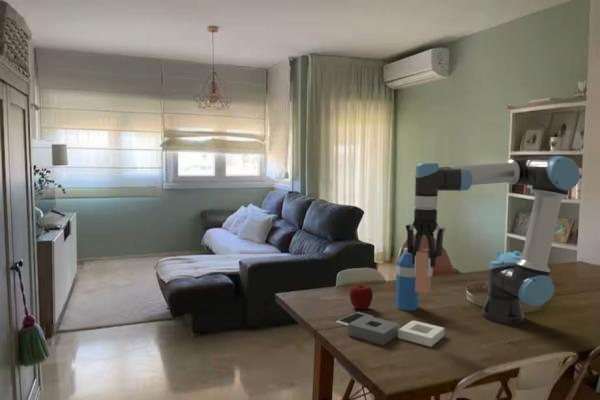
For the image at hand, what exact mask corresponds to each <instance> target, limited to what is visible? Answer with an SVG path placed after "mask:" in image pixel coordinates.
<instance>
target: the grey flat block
mask: <svg viewBox="0 0 600 400" xmlns="http://www.w3.org/2000/svg"><path fill="white" fill-rule="evenodd" d="M400 326H401V325H400V323H399V322H394V321H390V320H387V319H382V318H378V317H375V316H373V317H371V316H367V315H364V316H362V317H360V318H358V319H357V320H355V321H353V322H351V323H349V324H348V326H347V336H350V337H353V338H357V339H361V340H363V341H368V342H371V343H374V344H378V345H381V346H384V345H385V344H388V343H389V342H391V341H392V340H394V339H395V338H397V337H398V329H400Z"/></svg>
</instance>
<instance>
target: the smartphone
mask: <svg viewBox="0 0 600 400" xmlns="http://www.w3.org/2000/svg"><path fill="white" fill-rule="evenodd" d="M364 315H367V316H371V317H374V315H373V314H372V315H371V314H368V313H365V312H361V311H357V312H355V313H353V314H350V315H347V316H345V317H343V318H341V319H338V320H336V321H335V323H336V324H338V325H343V326H346V327H348V324H349V323H351V322H353V321H355V320H357V319H358V318H360V317H362V316H364Z"/></svg>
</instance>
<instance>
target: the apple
mask: <svg viewBox="0 0 600 400" xmlns="http://www.w3.org/2000/svg"><path fill="white" fill-rule="evenodd" d="M373 294H374V293H373V289H372V288H371V286H369V285H368V284H361V283H360V284H354V285H353V286H352V287H350V291H349V300H350V303H351V305H352V306H353V308H355V309H358V310H362V311H363V310H367V309H369V307H370V306H371V303H372V301H373Z"/></svg>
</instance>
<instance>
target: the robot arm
mask: <svg viewBox="0 0 600 400" xmlns="http://www.w3.org/2000/svg"><path fill="white" fill-rule="evenodd" d="M576 163H577V162H576V161H574V160H573V159H572V158H570V157H569V156H568V157H567V156H561V155H534V156H528V157H523V158H522V157H521V158H514V159H508V160H507V161H506V162H496V163H481V164H469V165H455V166H453V165H452V166H439V163H437V162H436V163H435V162H420V163H419V162H418V163H417V164H416V167H415V175H414V176H415V177H414V178H415V185H414V191H415V193H414V210H413V212H414V214H413V217H414V218H413V219H414V221H412V222H413V223H411V224H406V225H405V229H406V232H407V234H406V235H407V236H406V237H407V238H406V239H407V240H406V241H407V242H406V243H407V245H406V248H407V252H408V253H411V254H412V255H413V260H412V263H413V264H415V271H414V274H415V275H416V252H417V251H418V250H420V249H421V248H420V247H421V244H422V239H423V236H426V240H427V244H428V250H429V252H430V257H429V258H428V273H427V277H430V276H431V277H432V276H433V274H434V272H433V271H434V268H435V267H436V259H437V258H439V257H441V256H442V253H443V252H442V250H443V241H444V240H443V238H444V234H445V231H446V228H445V227H440V226H439V225H438V221H437V220H438V218H437V217H438V209H437V208H438V197H439V191H440V192H442V191H448V192H449V191H452V192H453V191H454V192H455V191H459V192H461V191H468V190H470V188H471V187H472V186H475V185H476V186H477V185H489V184H504V183H505V184H506V183H507V184H508V185H521V186H522V185H525V186H530V187H532V188H531V191H532V192H533V194H534V200H533V205H532V210H531V214H530V218H529V223H528V226H527V232H526V236H525V241H524V245H523V250H522V253H521V254H522V258H521V260H519V261H517V260H498V259H494V260H491V261H490V263H489V267H488V285H487V286H488V289H487V298H486V299H485V302H484V305H483V307H482V311H481V313H482V314H481V315H482V317H483V318H485V319H487V320H489V321H492V322H495V323H499V324H506V325H507V324H508V325H509V324H510V325H511V324H512V325H513V324H515V325H516V324H521V323H522V322H524V316H525V314H524V311H523V310H524V309H523V307H522V304H521V302H522V303H523V304H526V305H530V306H534V307H536V306H541V305H544V304H545V303H546V302H548V301H549V300H551V298H552V297H553V295H554V291H555V284H554V283H553V280H552V278H550V277H551V276H550V275H551V269H550V268H549V266H548V264H549V263H548V262H549V257H550V253H551V250H552V249H551V248H552V244H553V241H554V240H553V239H554V236H555V232H556V227H557V223H558V218H559V213H560V208H561V205H562V204H561V203H562V201H563V200H564V199H565V198H567V197H568V196H569V191H570V190H572V189H574V188H575V187H576V186H577V185H578V184H579V181H580V176H581V175H580V174H581V173H580V168H579V166H578V165H577V164H576ZM414 229H415V231H416V234H415V240H414ZM435 231H436V242H435V239H434V235H435V234H434V232H435Z"/></svg>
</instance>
